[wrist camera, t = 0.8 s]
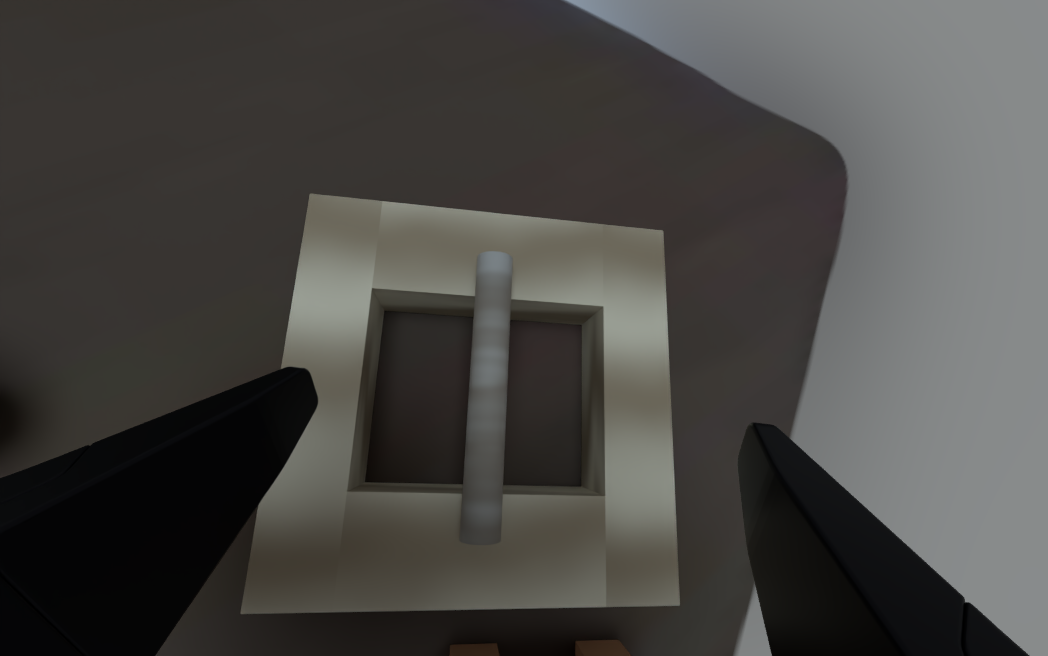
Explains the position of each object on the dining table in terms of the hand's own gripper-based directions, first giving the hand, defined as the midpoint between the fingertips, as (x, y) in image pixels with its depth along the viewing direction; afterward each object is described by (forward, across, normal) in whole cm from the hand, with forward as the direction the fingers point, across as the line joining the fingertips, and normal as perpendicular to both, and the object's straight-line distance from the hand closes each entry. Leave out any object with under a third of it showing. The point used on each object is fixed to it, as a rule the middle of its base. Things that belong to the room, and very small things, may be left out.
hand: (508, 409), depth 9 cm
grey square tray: (+9, +4, +8) cm, 13 cm away
